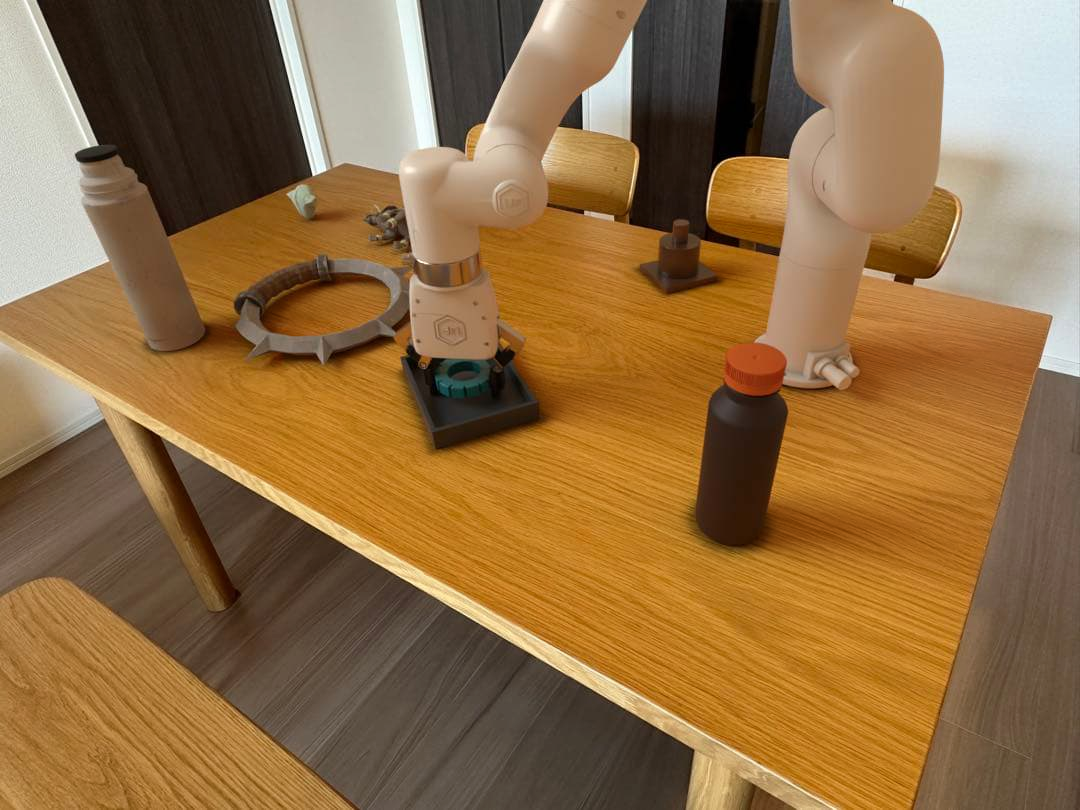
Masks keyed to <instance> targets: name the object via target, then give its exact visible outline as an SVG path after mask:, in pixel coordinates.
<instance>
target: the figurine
mask: <svg viewBox="0 0 1080 810" xmlns="http://www.w3.org/2000/svg"><path fill="white" fill-rule="evenodd" d="M370 206H371V207H370V212H371V213H370V214H367V215H365V216H364V217H363V219H362V221H364V222H365V223H367V224H368V225H369V226H370V227H373V228H378V229H380V230H382V233H385V234H384V235H381V234H376V235H373V234H372V233H368V236H367V237H368V238H367V239H368V240H369V243H371V242H377V243H382V242H383V241H390V240H392V239H395V238H397V237H398V236H400V237H403V239H401V241H400V242H399V241H396V240H395V241H394V240H393V246H392V247H394V250H399V249H403V250H405V249H408V247H409V245H411V242H410V236H409V230H408V225H407V219H406V214H405V208H404V203H402V204H401V207H402V209H399V207H397V206H396V205H392V204H388V205H386V206H385V207H383V209H381V208H380V205H377V204H374V203H372V204H370ZM373 206H374V207H375V208H376V209H377V211H376V212H373V210H372V209H373Z"/></svg>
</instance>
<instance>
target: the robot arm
mask: <svg viewBox="0 0 1080 810" xmlns="http://www.w3.org/2000/svg"><path fill="white" fill-rule="evenodd" d="M647 2H648V0H543V1H542V3H541V5H540V7H539V10H538V12H537V15H536V16H535V18H534V21H533V23H532V25H531V27H530V29H529V31H528V33H527V35H526V37H525V38H524V40H523V42H522V44H521V46H520V49H519V52H518V53H517V55H516V58H515V59H514V61H513V63H512V64H511V67H510V69H509V70H508V73H507V74H506V76H505V79H504V80H503V83H502V84H501V87H500V89H499V91H498V93H497V96H496V98H495V100H494V103H493V105H492V107H491V109H490V111H489V114H488V116H487V118H486V121H485V123H484V125H483V128H482V130H481V133H480V135H479V137H478V140H477V143H476V146H475V148H474V149H475V150H474V153H473V160H470V158H468V156H467V155H466V154H465V153H464V152H463V151H461V150H460V149H457V148H453V147H448V146H432V147H430V146H429V147H424V148H421V149H417V150H414V151H412V152H409V153H408V154H406V155H405V156H403V158H402V159H401V161H400V163H399V166H398V180H399V185H400V190H401V195H402V202H403V203H402V204H404V208H403V209H405V214H406V219H407V225H408V230H409V236H410V242H411V243H410V246H411V251H409V252H407V253H404V252H403V253H402V254H401V255H402V256H401V263H402V265H403V266H410V267H412V268H413V269H412V270H413V274H412V275H411V277H410V278H409V284H410V287H409V300H410V308H409V315H410V321H409V322H407V323H406V324H405V325H404V326H402V327H401V328H399V329H398V330H397V331H396V334H395V336H394V337H393V340H394V342H395V343H396V344H398V346H399V347H401V349H402V350H405V354H406V355H409V356H410V357H412V358H413V359H414V360H415V361H417V362H418V365H419V367H420V368H422V369H423V372H424V377H425V382H426V385H429V389H430V394H431V395H435V394H437V392H438V388H437V386H436V383H435V377H434V375H435V371H436V369H437V367H438V366H439V359H438V358H446V359H469V360H486V361H487V363H488V364H489V365H490V367H491V369H490V372H489V379H490V387H491V396H492V397H493V398H498V395H499V392H500V389H504V387H505V372H504V367H505V366H506V365H507V364H508V363H509V362H511V361H512V362H513V360H514V359H515V357H516V356H517V355H518V354H519V352H520V351H522V349H523V348H524V347H525V345H526V342H527V337H526V336H525V335H523V334H522V333H521V332H519V331H518V330H516V329H515V328H513V327H511V326H510V325H508V323H506V322H504V321H503V320H502V319H501V315H500V314H501V313H500V309H499V304H498V299H497V296H496V291H495V288H494V285H493V282H492V281H493V280H492V278H491V276H490V273H489V271H488V269H487V268H485V267H483V259H482V251H481V242H480V233H479V227H486V228H495V229H519V228H520V229H521V228H523V227H527V226H529V225H531V224H533V223H535V222H536V221H538V219H539V218H540V217H541V216H542V215H543V213H544V212H545V210H546V208H547V205H548V202H549V185H548V180H547V177H546V173H545V170H544V166H543V163H542V161H543V159H544V156H545V154H546V152H547V150H548V148H549V146H550V143H551V141H552V139H553V137H555V133H556V132H557V129H558V128H559V126H560V124H561V122H562V120H563V118H564V117H565V115H566V114H567V112H568V110H569V109H570V107H571V106H572V105H573V103H574V102H576V99H578V97H580V95H581V94H583V93H584V92H585V91H586V90H588V89H589V88H592V87H593V86H595V85H596V84H598V83H600V82H602V80H603V79H605V77H607V76H608V75H609V74H610V72H611V71H612V70H613V69H614V67H615V65H616V63H617V61H618V60H619V58H620V56H621V53H622V51H623V49H624V47H625V45H626V44H627V41H628V39H629V38H630V35H631V33H632V31H633V29H634V27H635V26H636V24H637V22H638V21H639V17H640V16H641V14H642V12H643V10H644V8H645V6H646V4H647ZM788 2H789V3H788V6H789V7H788V8H789V19H790V21H789V22H790V35H791V37H790V38H791V53H792V67H793V68H792V69H793V74H794V76H795V79H796V82H797V84H798V86H799V87H800V88H801V89H802V90H803V91H804V93H806V95H808V96H809V97H810V98H811V99H812V100H814V101H816V102H817V103H818V104H820V105H821V106H824V108H822V109H820V110H817V111H816V112H815V113H813V114H812V115H811V116H810V117H809V118H808V119H806V121H805V122H804V123H803V124H802V126H801V127H800V128H799V129H798V131H797V133H796V135H795V137H794V138H793V141H792V144H791V147H790V151H789V155H788V163H787V164H788V165H787V199H786V201H787V202H786V213H785V221H784V227H783V235H782V241H781V246H780V250H779V256H778V263H777V268H776V274H775V278H774V285H773V291H772V297H771V303H770V309H769V314H768V319H767V320H768V321H767V325H766V332H765V333H763V334H761V335H759V336H758V337H756V339H755V340H754V341H753V342H755V343H762V344H767V345H770V346H772V347H775V348H776V349H778V350H780V351H781V352H782V353H783V354H784V356H785V357H786V360H787V364H786V369H785V374H784V379H783V383H782V385H785V386H788V387H793V388H799V389H822V388H827V387H832V386H834V387H835V388H837V390H839V391H845V390H847V389H848V388H849V387H850V386H851V384H852V382H853V379H854V378H856V377H857V376H858V375H859V374H860V372H861V369H860V368H859V367H858V366H856V365H855V364H854V363H853V362H854V361H853V356H852V354H851V352H850V350H851V345H850V344H849V343H848V342H846V338H847V334H848V330H849V328H850V327H849V326H850V323H851V318H852V315H853V311H854V308H855V304H856V299H857V296H858V292H859V287H860V284H861V281H862V276H863V272H864V268H865V264H866V261H867V258H868V254H869V250H870V246H871V241H872V236H873V234H878V235H879V234H886V233H890V232H891V233H892V232H894V231H896V230H899V229H901V228H903V227H905V226H906V225H908V224H909V223H910V222H911V221H913V220H914V219H915V218H916V217H917V216H918V215H919V214H920V213H921V212H922V211H923V209H924V208H925V207H926V205H927V203H928V202H929V200H930V198H931V196H932V194H933V191H934V189H935V185H936V183H937V178H938V174H939V167H940V158H941V144H942V143H941V142H942V126H943V125H942V123H943V108H944V107H943V106H944V90H945V89H944V88H945V87H944V86H945V61H944V54H943V50H942V46H941V43H940V40H939V36H938V35H937V33H936V31H935V29H934V28H933V27H932V25H931V24H930V22H928V20H927V19H926V18H925V17H923V16H922V15H920V14H919V13H917V12H915V11H913V10H911V9H909V8H907V7H903V6H900V5H897V4H895V3H894V2H893V0H788ZM501 339H503V340H505V341H506V342H508V343H509V345H507V346H506V347H505V348H503V349H504V350H502V349H501V348H500V346H499V345H498V341H500V340H501Z"/></svg>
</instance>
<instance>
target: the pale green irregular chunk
mask: <svg viewBox="0 0 1080 810" xmlns="http://www.w3.org/2000/svg"><path fill="white" fill-rule="evenodd" d="M286 195H287V197H288V198H289V199H290V201H292V203H293V205H294V206H295V208H296V209H297V211H298V213H299V215H301V216H302V217H303V218H305V219H307V220H310V219H313V218H314V217H315V214H316V211H317V205H318V199H317V195H316V192H315V190H314V189H313V188H312V187H311V186H309V185H308V184H306V183H305V184H299V185H297V186H296V187H295V189H293V190H290V191H288V192H287V193H286Z"/></svg>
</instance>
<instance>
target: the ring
mask: <svg viewBox="0 0 1080 810" xmlns="http://www.w3.org/2000/svg"><path fill="white" fill-rule="evenodd" d="M490 369H491V367H490V365H489V364H488V363H487V361H486V360H469V359H451V360H450V359H446V360H445V361H443V362H442V363H440V364H439V366H438V367H437V369H436V371H435V375H434V377H435V383H436V386H437V388H438V390H439V391H440V392H441V393H442V394H444V395H446V396H448V397H451V396H452V398H461V399H465V397H466V396H467V398H471V397H475V396H479V395H480V393H482V394H483V393H485V392H486V391H487V390H489V389H490V388H491V387H490V379H489V372H490ZM463 371H474V372H476V373H478V374H479V375H478V376H477V377H475V378H474V379H470V380H466V381H456V380H453V379H451V378H450V377H452V376H453V375H455V374H456V373H459V372H463Z"/></svg>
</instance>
